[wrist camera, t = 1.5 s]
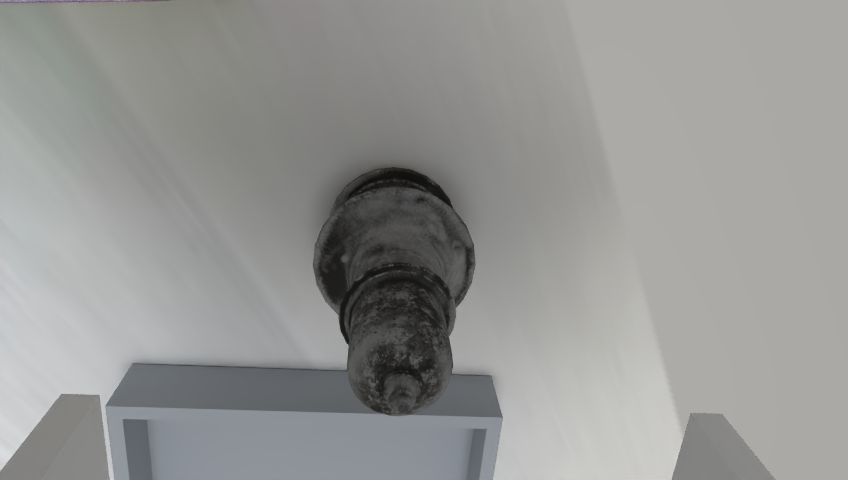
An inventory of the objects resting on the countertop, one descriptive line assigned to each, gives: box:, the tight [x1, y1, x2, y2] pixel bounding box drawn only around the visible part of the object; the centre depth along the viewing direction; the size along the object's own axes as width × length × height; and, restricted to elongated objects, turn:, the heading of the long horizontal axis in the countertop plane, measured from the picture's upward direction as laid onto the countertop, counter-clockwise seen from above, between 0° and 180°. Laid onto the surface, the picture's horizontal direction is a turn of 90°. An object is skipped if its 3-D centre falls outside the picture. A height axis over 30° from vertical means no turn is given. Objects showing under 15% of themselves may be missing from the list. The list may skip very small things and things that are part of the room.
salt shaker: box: [313, 167, 475, 416], centre depth 21 cm, size 6×6×12 cm
